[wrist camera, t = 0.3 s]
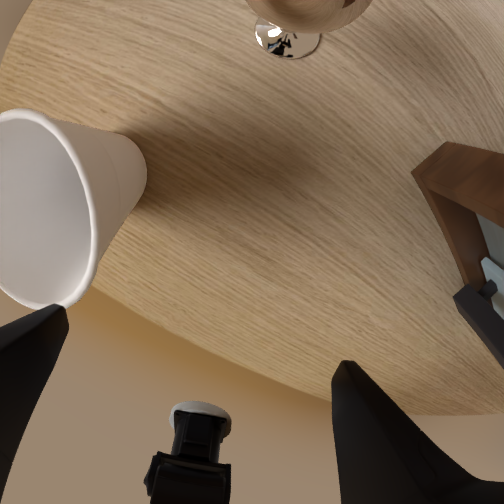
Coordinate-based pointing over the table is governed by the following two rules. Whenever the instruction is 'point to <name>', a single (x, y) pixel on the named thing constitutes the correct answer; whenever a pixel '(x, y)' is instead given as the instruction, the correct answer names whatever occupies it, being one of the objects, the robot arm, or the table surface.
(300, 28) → the wineglass
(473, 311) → the pane
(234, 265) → the table surface
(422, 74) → the table surface
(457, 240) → the window frame
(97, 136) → the cup
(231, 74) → the table surface
